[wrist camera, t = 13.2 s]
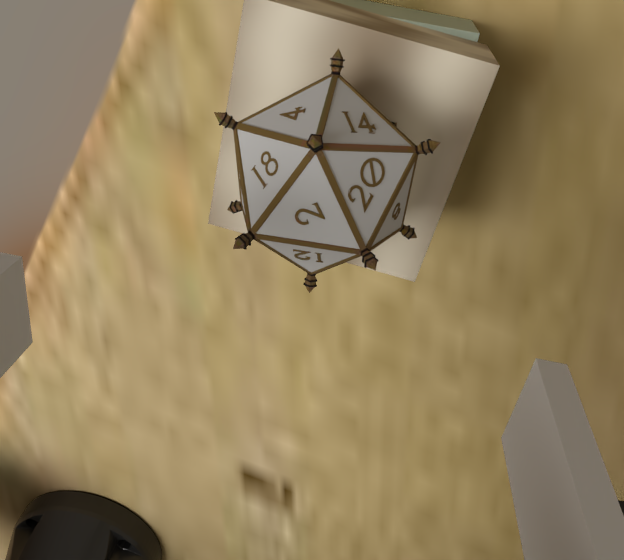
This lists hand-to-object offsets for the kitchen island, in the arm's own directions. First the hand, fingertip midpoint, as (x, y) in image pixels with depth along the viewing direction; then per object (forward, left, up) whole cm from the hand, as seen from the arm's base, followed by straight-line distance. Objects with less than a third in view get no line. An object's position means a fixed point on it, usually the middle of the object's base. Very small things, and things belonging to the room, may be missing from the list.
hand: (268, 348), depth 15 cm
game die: (0, 0, -15) cm, 15 cm away
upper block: (0, 0, -20) cm, 20 cm away
